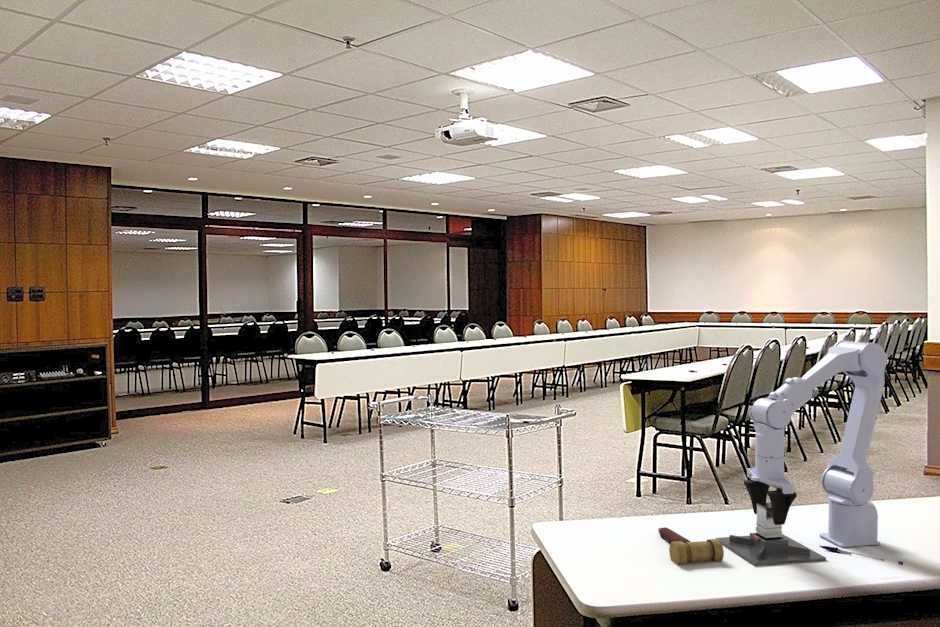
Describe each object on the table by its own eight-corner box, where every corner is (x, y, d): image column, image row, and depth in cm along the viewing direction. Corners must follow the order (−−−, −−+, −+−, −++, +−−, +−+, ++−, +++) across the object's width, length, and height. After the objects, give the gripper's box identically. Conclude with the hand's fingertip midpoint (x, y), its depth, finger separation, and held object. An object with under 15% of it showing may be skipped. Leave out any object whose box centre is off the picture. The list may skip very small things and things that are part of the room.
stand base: (781, 535, 177) (781, 522, 177) (826, 560, 161) (826, 546, 161) (715, 540, 174) (715, 527, 174) (754, 566, 158) (754, 551, 158)
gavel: (638, 520, 179) (679, 518, 181) (638, 540, 179) (680, 538, 181) (678, 544, 158) (724, 542, 160) (678, 567, 158) (724, 564, 160)
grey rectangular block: (772, 531, 170) (772, 502, 169) (782, 537, 166) (782, 507, 166) (755, 532, 169) (756, 503, 169) (765, 538, 165) (766, 508, 165)
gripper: (734, 449, 173) (734, 510, 174) (771, 464, 159) (771, 530, 159) (763, 447, 174) (763, 508, 175) (803, 462, 160) (802, 528, 161)
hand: (769, 518), depth 167 cm, fingers open, 7 cm apart
